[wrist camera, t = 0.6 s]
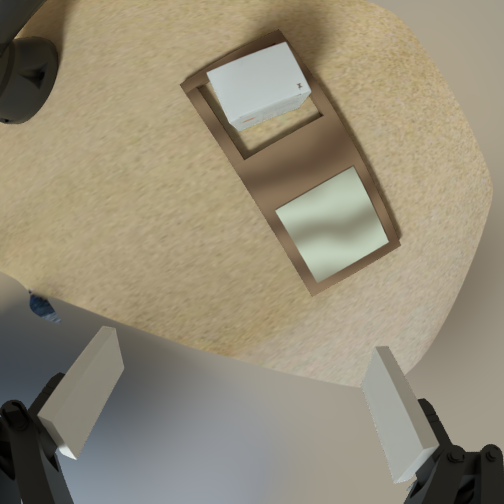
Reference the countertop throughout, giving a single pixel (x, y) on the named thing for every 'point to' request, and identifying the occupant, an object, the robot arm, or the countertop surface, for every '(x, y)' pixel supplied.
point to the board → (309, 185)
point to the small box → (259, 86)
